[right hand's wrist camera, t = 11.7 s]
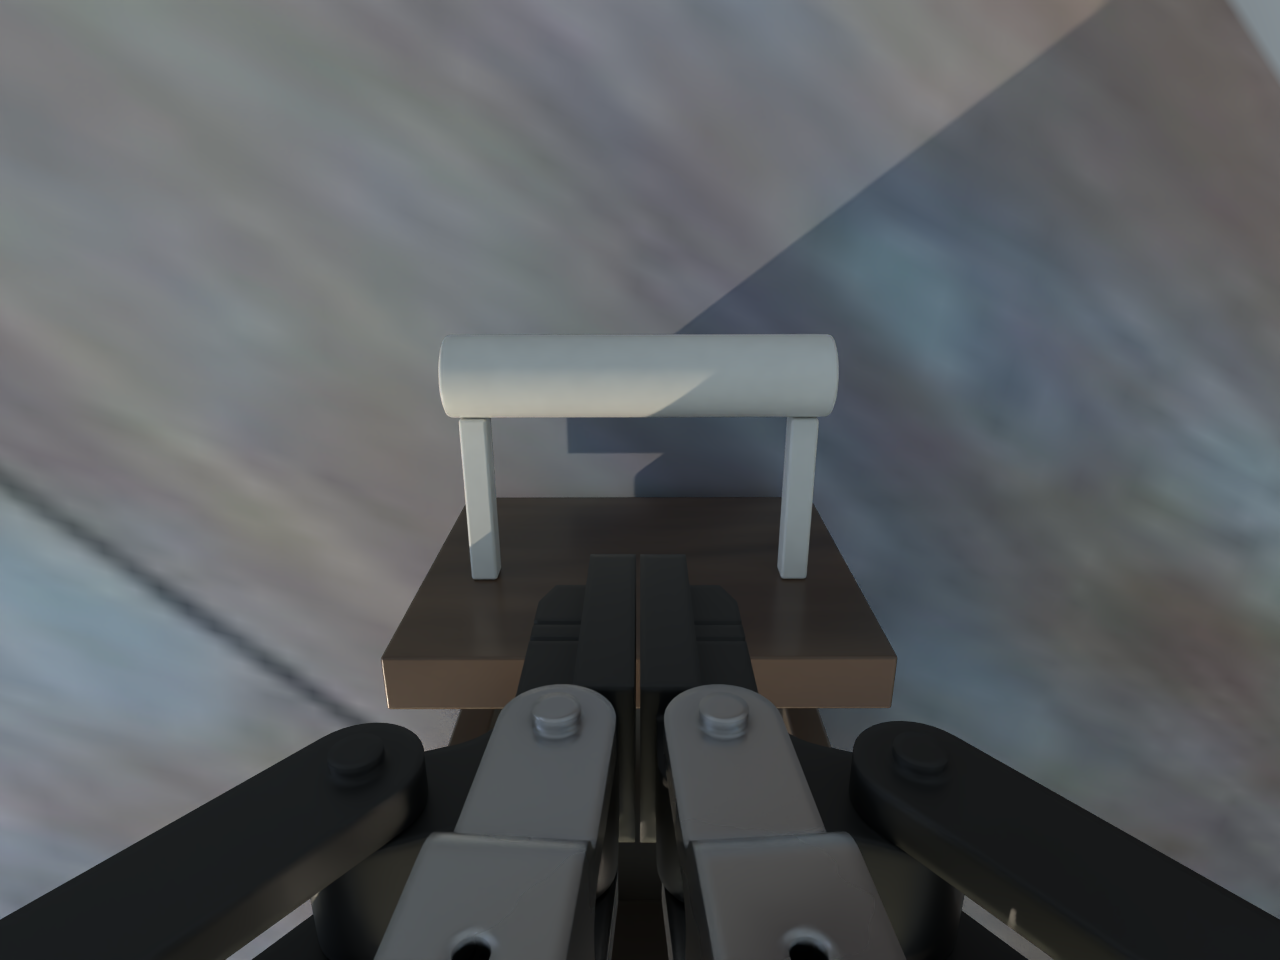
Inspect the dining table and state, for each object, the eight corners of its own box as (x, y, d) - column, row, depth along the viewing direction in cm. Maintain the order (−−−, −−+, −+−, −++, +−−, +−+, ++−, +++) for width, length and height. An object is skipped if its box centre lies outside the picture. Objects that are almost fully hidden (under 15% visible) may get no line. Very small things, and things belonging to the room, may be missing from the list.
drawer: (452, 303, 21) (340, 372, 13) (825, 302, 21) (935, 371, 13) (501, 888, 28) (447, 1158, 20) (779, 888, 28) (833, 1158, 20)
